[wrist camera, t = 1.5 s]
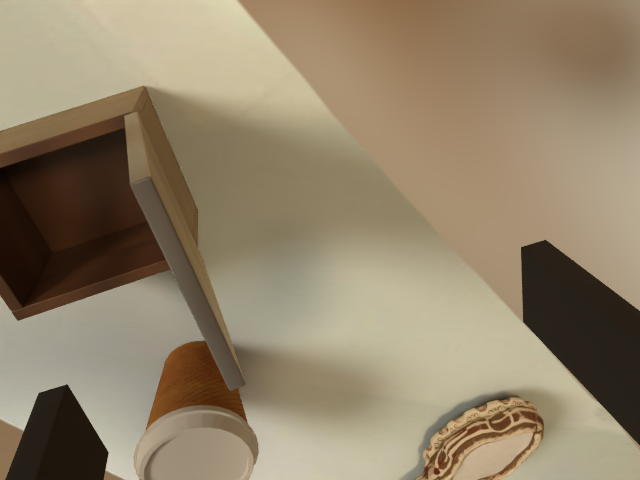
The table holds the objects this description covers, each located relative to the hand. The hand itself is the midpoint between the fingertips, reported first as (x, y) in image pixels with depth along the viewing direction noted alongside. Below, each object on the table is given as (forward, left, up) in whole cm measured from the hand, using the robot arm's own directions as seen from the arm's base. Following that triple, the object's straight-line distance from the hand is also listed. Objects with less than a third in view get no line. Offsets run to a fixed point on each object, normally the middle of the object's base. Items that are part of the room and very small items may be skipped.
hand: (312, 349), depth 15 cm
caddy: (+7, -10, -29) cm, 32 cm away
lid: (+3, -4, -14) cm, 15 cm away
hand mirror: (+38, +28, -30) cm, 56 cm away
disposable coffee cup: (+25, 0, -30) cm, 39 cm away
